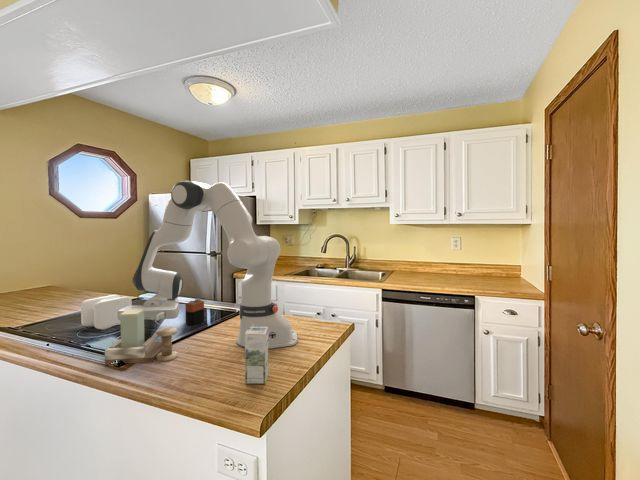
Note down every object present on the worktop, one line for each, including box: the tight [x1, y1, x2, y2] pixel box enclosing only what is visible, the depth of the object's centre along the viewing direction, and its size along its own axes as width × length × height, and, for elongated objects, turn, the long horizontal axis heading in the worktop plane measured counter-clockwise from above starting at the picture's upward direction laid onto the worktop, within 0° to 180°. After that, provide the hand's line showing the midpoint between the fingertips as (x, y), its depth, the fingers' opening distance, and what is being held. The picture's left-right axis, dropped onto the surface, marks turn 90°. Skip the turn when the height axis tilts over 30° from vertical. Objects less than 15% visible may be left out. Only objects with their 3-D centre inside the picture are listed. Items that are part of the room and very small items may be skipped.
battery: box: [185, 298, 205, 326], centre depth 134 cm, size 4×7×10 cm, turn 155°
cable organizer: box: [80, 294, 133, 331], centre depth 130 cm, size 15×11×12 cm
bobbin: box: [155, 326, 178, 362], centre depth 100 cm, size 6×6×9 cm
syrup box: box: [244, 327, 269, 385], centre depth 86 cm, size 6×6×14 cm
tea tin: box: [120, 309, 146, 348], centre depth 101 cm, size 5×5×13 cm
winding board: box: [104, 336, 162, 366], centre depth 102 cm, size 14×13×4 cm
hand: (140, 319), depth 107 cm, fingers open, 8 cm apart
